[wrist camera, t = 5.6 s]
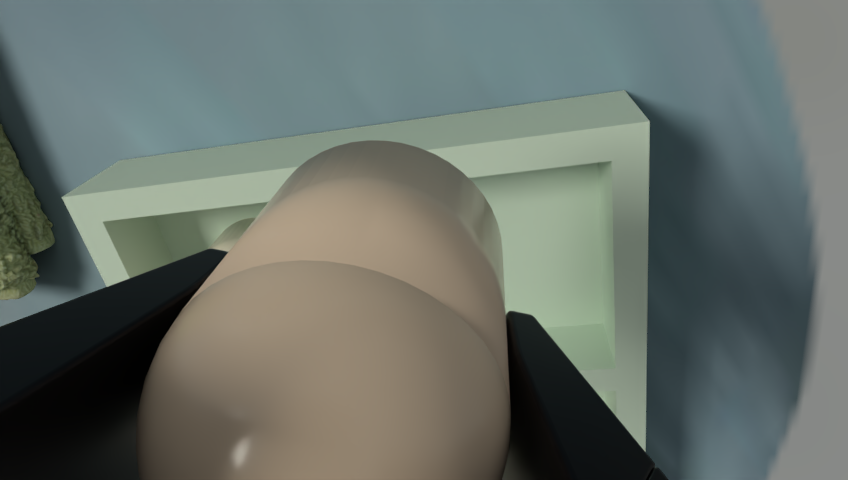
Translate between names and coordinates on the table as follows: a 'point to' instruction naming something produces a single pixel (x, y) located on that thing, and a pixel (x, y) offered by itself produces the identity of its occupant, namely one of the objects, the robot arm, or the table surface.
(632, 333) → the egg tray
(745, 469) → the table surface
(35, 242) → the washcloth
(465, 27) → the table surface
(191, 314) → the brown egg
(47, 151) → the table surface
